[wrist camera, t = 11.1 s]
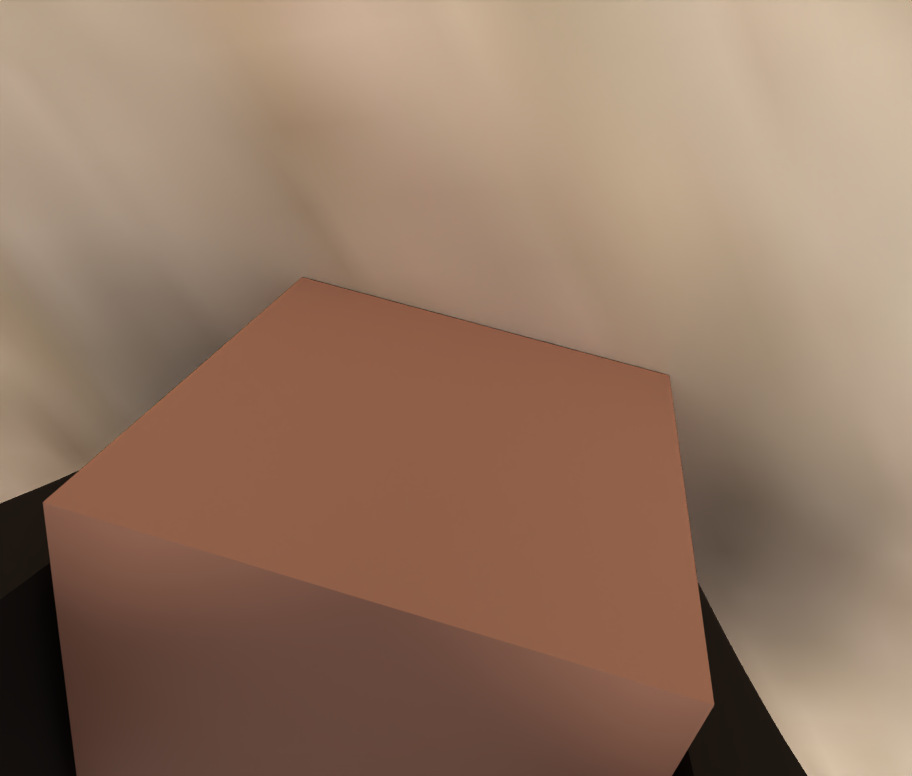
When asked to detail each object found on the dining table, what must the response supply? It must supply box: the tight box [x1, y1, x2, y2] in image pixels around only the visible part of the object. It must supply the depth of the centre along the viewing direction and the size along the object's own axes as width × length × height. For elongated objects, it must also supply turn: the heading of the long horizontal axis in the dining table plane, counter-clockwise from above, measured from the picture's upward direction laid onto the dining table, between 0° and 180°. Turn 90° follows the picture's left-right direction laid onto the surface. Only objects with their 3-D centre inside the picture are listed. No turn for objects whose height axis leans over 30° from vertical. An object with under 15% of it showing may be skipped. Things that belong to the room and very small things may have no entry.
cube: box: [43, 277, 714, 776], centre depth 8 cm, size 5×5×5 cm
